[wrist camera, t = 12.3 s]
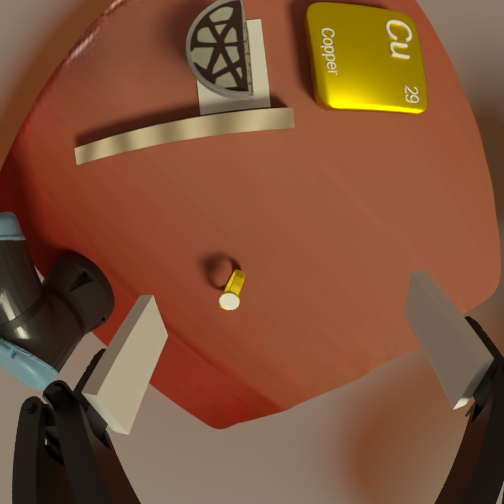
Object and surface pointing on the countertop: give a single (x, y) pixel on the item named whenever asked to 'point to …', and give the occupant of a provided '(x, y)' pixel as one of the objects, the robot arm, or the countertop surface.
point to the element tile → (364, 59)
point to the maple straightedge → (187, 131)
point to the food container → (221, 50)
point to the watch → (232, 291)
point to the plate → (261, 97)
